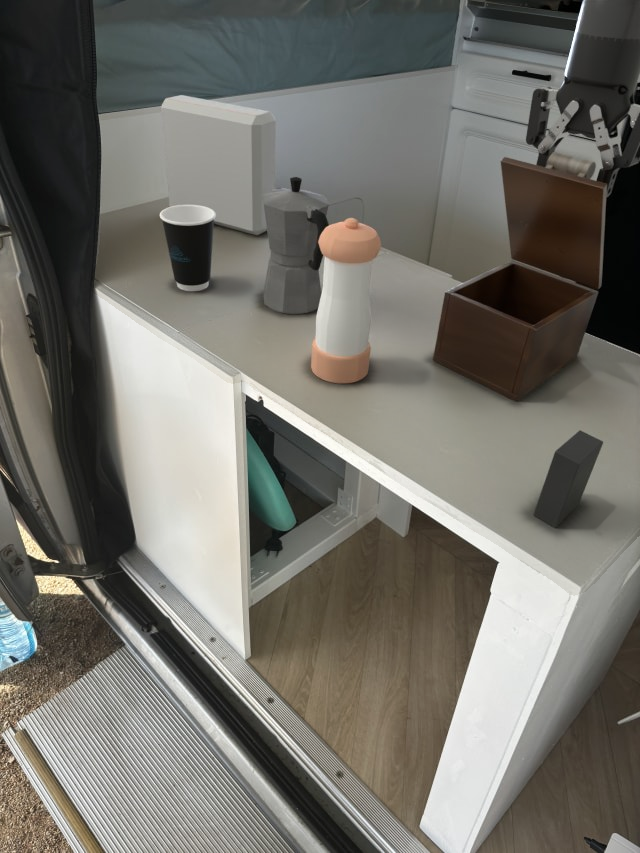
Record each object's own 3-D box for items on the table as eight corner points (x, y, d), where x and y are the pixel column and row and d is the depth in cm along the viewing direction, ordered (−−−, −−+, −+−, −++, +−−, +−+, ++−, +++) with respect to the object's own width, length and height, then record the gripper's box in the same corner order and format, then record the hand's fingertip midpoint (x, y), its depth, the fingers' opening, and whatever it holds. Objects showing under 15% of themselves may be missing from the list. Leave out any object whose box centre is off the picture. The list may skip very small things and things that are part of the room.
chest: (516, 401, 79) (536, 329, 73) (432, 360, 86) (444, 291, 80) (576, 358, 88) (598, 291, 82) (496, 324, 95) (512, 260, 89)
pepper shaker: (302, 375, 81) (308, 223, 70) (322, 348, 87) (331, 204, 75) (358, 389, 79) (374, 235, 68) (375, 361, 85) (392, 214, 74)
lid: (603, 188, 69) (630, 154, 70) (500, 160, 75) (526, 130, 76) (598, 290, 82) (620, 260, 83) (511, 259, 89) (533, 232, 90)
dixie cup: (219, 274, 104) (216, 204, 97) (218, 296, 98) (214, 223, 91) (168, 273, 103) (162, 203, 97) (164, 295, 97) (156, 222, 90)
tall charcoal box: (580, 503, 65) (605, 440, 60) (555, 528, 62) (579, 463, 57) (558, 491, 66) (581, 428, 61) (532, 515, 63) (554, 451, 58)
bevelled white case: (281, 226, 122) (283, 110, 110) (257, 239, 117) (256, 118, 105) (193, 203, 130) (185, 92, 118) (166, 213, 125) (155, 98, 113)
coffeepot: (245, 288, 100) (243, 167, 89) (299, 278, 104) (303, 160, 93) (291, 333, 90) (295, 201, 79) (349, 320, 94) (360, 193, 83)
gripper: (697, 38, 66) (640, 203, 76) (567, 21, 74) (531, 173, 84) (668, 42, 62) (612, 216, 72) (533, 23, 69) (499, 183, 79)
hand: (568, 192), depth 78 cm, fingers open, 6 cm apart
